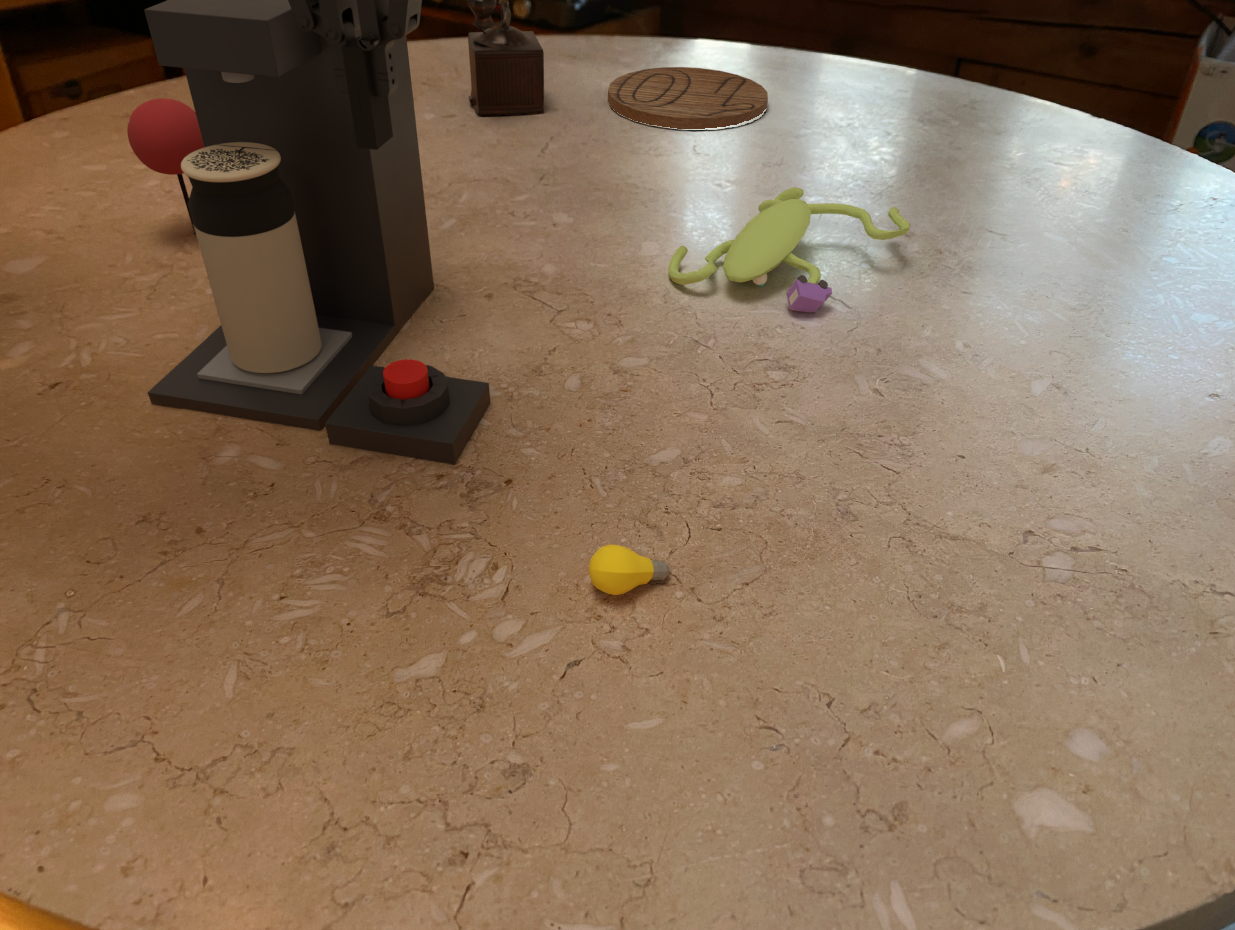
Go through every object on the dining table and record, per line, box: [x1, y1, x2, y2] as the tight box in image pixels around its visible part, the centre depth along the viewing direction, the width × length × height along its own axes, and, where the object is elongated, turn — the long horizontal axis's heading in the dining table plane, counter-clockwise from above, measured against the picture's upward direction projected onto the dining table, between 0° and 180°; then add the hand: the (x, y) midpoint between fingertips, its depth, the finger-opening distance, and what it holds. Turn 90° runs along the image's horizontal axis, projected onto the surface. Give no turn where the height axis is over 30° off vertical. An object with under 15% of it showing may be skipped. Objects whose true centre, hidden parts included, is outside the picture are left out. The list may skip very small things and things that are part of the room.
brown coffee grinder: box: [466, 0, 545, 117], centre depth 138 cm, size 16×11×18 cm
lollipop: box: [126, 97, 204, 236], centre depth 103 cm, size 8×8×15 cm
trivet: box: [607, 66, 769, 129], centre depth 147 cm, size 25×25×2 cm
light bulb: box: [588, 544, 671, 596], centre depth 65 cm, size 3×6×4 cm, turn 106°
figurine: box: [668, 186, 911, 313], centre depth 103 cm, size 18×27×6 cm
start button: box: [383, 358, 429, 400], centre depth 78 cm, size 4×4×2 cm
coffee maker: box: [144, 0, 435, 432], centre depth 81 cm, size 16×26×30 cm, turn 167°
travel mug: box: [181, 142, 322, 373], centre depth 80 cm, size 8×8×18 cm
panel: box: [325, 364, 491, 466], centre depth 79 cm, size 11×9×4 cm
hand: (375, 141), depth 65 cm, fingers closed
